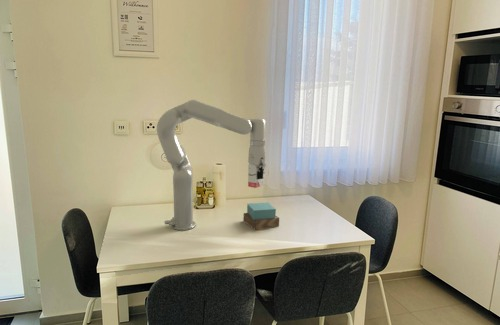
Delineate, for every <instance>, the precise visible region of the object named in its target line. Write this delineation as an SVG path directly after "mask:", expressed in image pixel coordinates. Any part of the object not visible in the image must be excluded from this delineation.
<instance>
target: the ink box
mask: <svg viewBox="0 0 500 325" xmlns="http://www.w3.org/2000/svg"><path fill="white" fill-rule="evenodd" d="M259 165H261V164H259ZM260 168H261V167H260ZM257 171H258V166H255V165H253V164H249V163H248V170H247V172H248V173H247V174H248V175H247V176H248V178H247V179H248V180H247V186H248V187H250V188H252V189H253V188H254V189H256V188H259V187H262V186H265V180H266V179H265V178H266V176H265V175H266V167H265V168H264V171H263V179H257Z"/></svg>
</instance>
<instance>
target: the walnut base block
mask: <svg viewBox="0 0 500 325" xmlns="http://www.w3.org/2000/svg"><path fill="white" fill-rule="evenodd" d="M242 222H244V223H245V224H246V225H248V226H249V227H251V228H253V229H254V230H255V231H258V230H264V229H270V228H274V227H275V228H276V227H279V226H280V217H278V216H277V215H275V218H272V219H259V220H253V219H252V218H251V216H250V215H249V214H248V213H247V212H243V221H242Z"/></svg>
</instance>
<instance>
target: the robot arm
mask: <svg viewBox="0 0 500 325" xmlns="http://www.w3.org/2000/svg"><path fill="white" fill-rule="evenodd" d="M190 119H195V120H198V121H201V122H204V123H207V124H209V125H212V126H215V127H219V128H222V129H225V130H227V131H230V132H234V133H236V134H240V135H249V136H250V137H249V148H248V156H247V157H248V158H247V159H248V160H247V162H248V165H249V164H253V165H255V166H258V171H257V179H263V171H264V168H265V169H266V167H267V166H266V151H265V145H266V144H265V143H266V141H265V140H266V120H265V119H263V118H245V117H240V116H237V115H234V114H231V113H229V112H227V111H224V110H223V109H220V108H218V107H215V106H214V105H213V106H212V105H209V104H206V103H204V102H201V101H199V100H197V99H196V100H195V99H191V100H188V101H185V102H184V103H182V104H180V105H177V106H175V107H172V108H170V109H168V110H166V111H165V112H164V113H163V114H162V115H161V117H160V118H159V119H158V122H157V124H156V134H157V137H158V140H159V142H160V146H161V149H162V151H163V153H164V156H165V159H166V161H167V162H168V163H169V164H170V166H171V168H172V171H173V173H172V174H173V175H172V184H173V188H172V189H173V217H172V218H171V219H170V220H165V221H164V225H166V226H167V225H168V226H170V227H171V228H172V229H173V230H176V231H189V230H192V229H194V228H195V227H196V226H197V223H196V222H195V221H194V217H193V211H194V209H193V208H194V206H193V203H194V201H193V200H194V199H193V197H194V196H193V182H194V179H193V177H194V173H193V168H192V164H191V163H190V160H189V158H188V157H189V156H188V155H187V152H186V150H185V148H184V147H183V145H181V144H180V141H179V139H178V136H177V134H176V130H175V129H176V127H177V126H178V125H180V124H182V123H183V122H186V121H188V120H190ZM249 133H250V134H249ZM259 164H261V165H259ZM260 167H261V168H260Z"/></svg>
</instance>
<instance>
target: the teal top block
mask: <svg viewBox="0 0 500 325" xmlns="http://www.w3.org/2000/svg"><path fill="white" fill-rule="evenodd" d="M246 206H247V207H246V210H247V211H246V213H248V214H249V215H250V216H251V218H252V219H253V220H259V219H272V218H275V216H277V215H276V213H277V212H276V210H277V209H276V208H275V206H273V205H272V204H271V203H270V202H253V203H252V202H251V203H247V205H246Z"/></svg>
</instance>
